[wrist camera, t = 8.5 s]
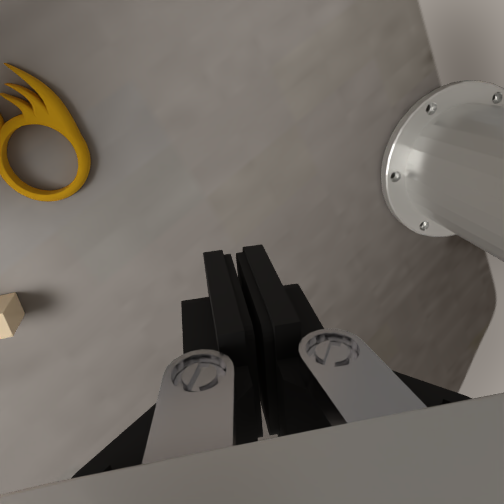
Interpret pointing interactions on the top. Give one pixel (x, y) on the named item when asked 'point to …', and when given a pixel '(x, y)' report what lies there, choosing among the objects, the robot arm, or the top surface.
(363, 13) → the top surface
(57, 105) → the novelty glasses
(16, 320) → the cream blocks and ball
